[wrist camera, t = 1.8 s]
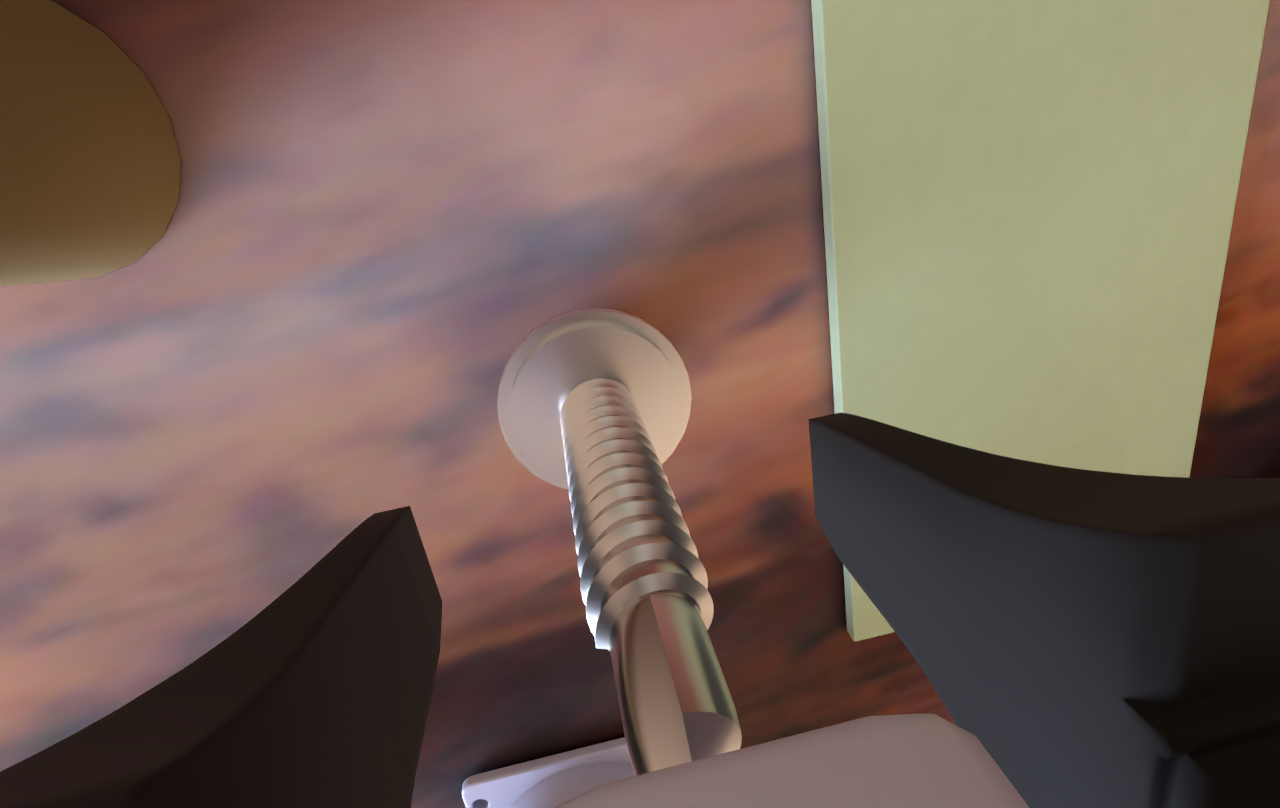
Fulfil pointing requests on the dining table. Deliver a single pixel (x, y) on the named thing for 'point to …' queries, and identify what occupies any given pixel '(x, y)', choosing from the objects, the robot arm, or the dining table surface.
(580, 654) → the dining table surface
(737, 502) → the dining table surface
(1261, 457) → the dining table surface
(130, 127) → the olive pawn
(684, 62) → the dining table surface
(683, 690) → the screw
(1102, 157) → the mat
